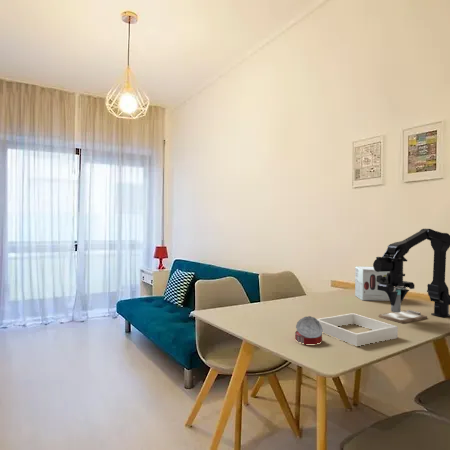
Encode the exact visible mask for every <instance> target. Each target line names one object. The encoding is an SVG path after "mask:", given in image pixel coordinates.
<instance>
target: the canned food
mask: <svg viewBox="0 0 450 450" xmlns="http://www.w3.org/2000/svg"><path fill="white" fill-rule="evenodd" d="M317 319H318V318H316V317H314V316H310V315H309V316H304V317H302V318H300V319H299V320H298V321H297V322H296V325H295V329H296V331H295V333H294V335H295V337H294V339H296V340H297V341H298V342H301V343H304V344H317V343H320V342H321V341H322V342H323V333H322V332H323V329H322V326H321V324H320V323H319V321H318V320H317Z"/></svg>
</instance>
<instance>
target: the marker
mask: <svg viewBox="0 0 450 450" xmlns="http://www.w3.org/2000/svg"><path fill="white" fill-rule="evenodd" d="M395 291H398V293H397V297H396V301H395V304H394V306H393V305H391V304H390V312H391V313H392V312H401V311H402V310H401V309H402V307H401V305H402V302H401V290H399V289H395Z"/></svg>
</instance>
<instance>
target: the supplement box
mask: <svg viewBox="0 0 450 450" xmlns="http://www.w3.org/2000/svg"><path fill="white" fill-rule="evenodd" d="M354 270H355V273H354V274H355V275H354V276H355V279H354V280H355V281H354V282H355V283H354V285H355V286H354V296H355V297H357V298H358V299H359V300H360V301H379V302H380V301H381V302H382V301H384V302H385V301H386V302H387V301H389V302H390V299H389V297H388V294H387V293H386V292H385V291H381V290H377V285H378V284H379V283H378V282H377V281H376V278H377V276H379V275H382V276H383V277H385V276H387V273H389V271H387V272H376V271H375V270H374V267H373V266H362V265H360V266H355V269H354Z"/></svg>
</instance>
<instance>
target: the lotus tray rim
mask: <svg viewBox="0 0 450 450" xmlns="http://www.w3.org/2000/svg"><path fill="white" fill-rule="evenodd" d="M316 319H317V320H318V321H319V323H320V324H321V326H322V329H323V332H324V333H326V334H328V335H331V336H333V337H336V338H338V339H340V340H343V341H345V342H348V343H350V344H353V345H355V346H360V347H362V346H361V345H364V346H366V345H365V344H369V345H371V344H370V343H373V344H376V343H375V342H377V343H380V342H379V341H382V342H385V340H386V341H390V339H391V340H394V339H398V338H399V337H398V335H399V334H398V332H399V330H398V325H394V324H390V323H387V322H384V321H381V320H378V319H375V318H372V317H371V318H370V317H368V316H364V315H360V314H359V313H358V314H357V313H354V312H351V313H345V314H339V315H334V316H328V317H321V318H316ZM348 324H351V325H354V324H356V325H355V326H357V325H359V327H360V326H362V327H361V328H363V327H365V328H364V329H366V328H369V329H372V330H369V329H368V330H369V331H366V330H365V331H361V332H358V333H356V332H354V331H351V330H348V329H346V328H343V326H342V325H346V326H349V325H348ZM337 326H340V327H337ZM328 335H327V336H328ZM333 337H332V338H333ZM338 339H337V340H338ZM340 340H339V341H340ZM343 341H342V342H343ZM345 342H344V343H345ZM348 343H347V344H348ZM350 344H349V345H350ZM353 345H352V346H353ZM355 346H354V347H355Z"/></svg>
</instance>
